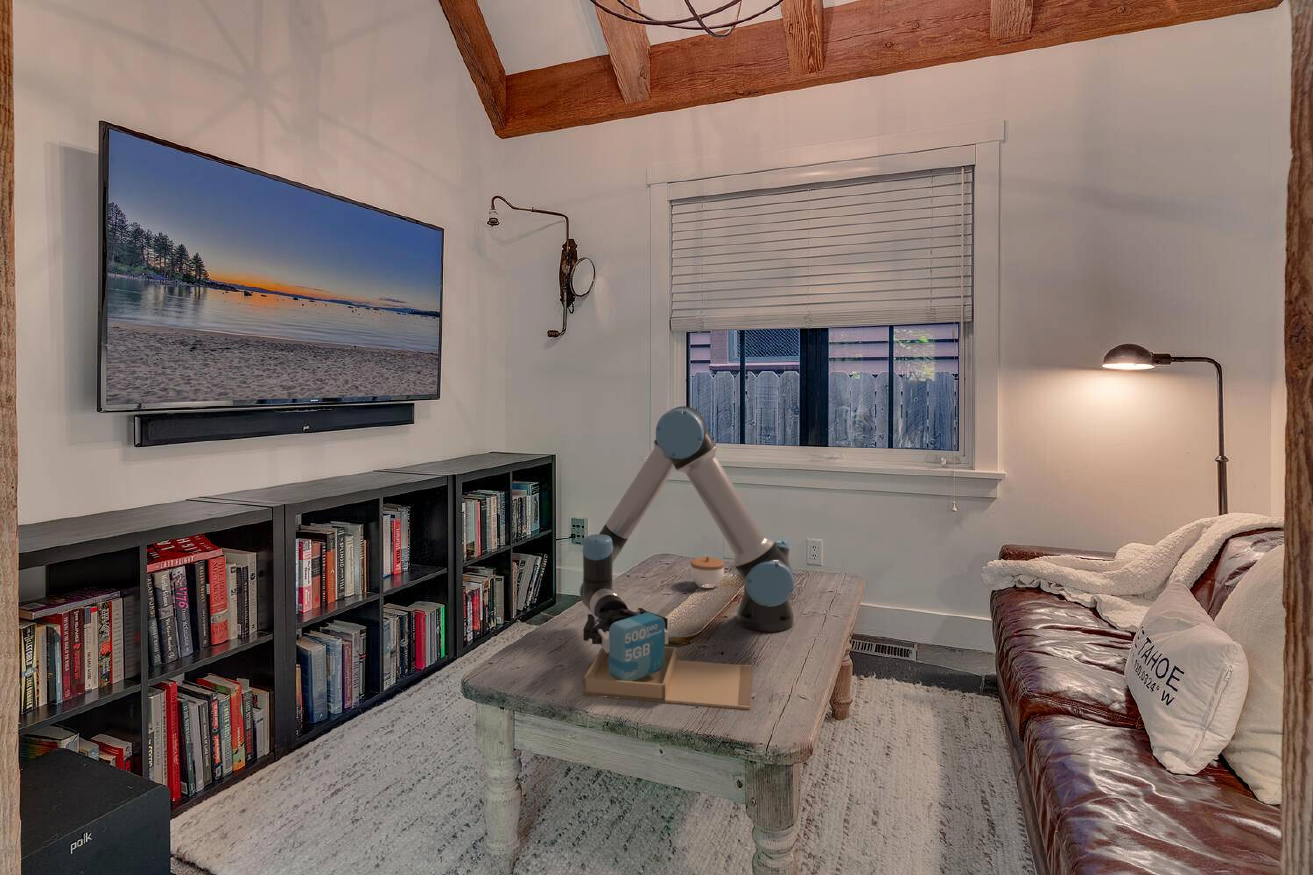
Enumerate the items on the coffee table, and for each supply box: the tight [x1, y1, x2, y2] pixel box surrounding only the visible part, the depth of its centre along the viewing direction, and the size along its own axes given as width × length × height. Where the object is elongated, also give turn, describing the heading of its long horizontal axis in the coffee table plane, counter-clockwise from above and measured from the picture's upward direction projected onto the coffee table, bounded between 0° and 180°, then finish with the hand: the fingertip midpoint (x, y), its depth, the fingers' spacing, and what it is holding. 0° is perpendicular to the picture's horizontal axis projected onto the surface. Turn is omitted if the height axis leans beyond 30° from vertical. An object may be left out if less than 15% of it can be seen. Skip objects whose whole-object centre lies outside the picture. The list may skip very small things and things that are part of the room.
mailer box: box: [582, 645, 752, 710], centre depth 145 cm, size 34×19×4 cm, turn 81°
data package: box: [608, 611, 665, 681], centre depth 143 cm, size 12×4×12 cm, turn 131°
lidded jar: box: [690, 556, 725, 588], centre depth 210 cm, size 11×11×9 cm
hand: (638, 642), depth 142 cm, fingers closed on data package, 12 cm apart
